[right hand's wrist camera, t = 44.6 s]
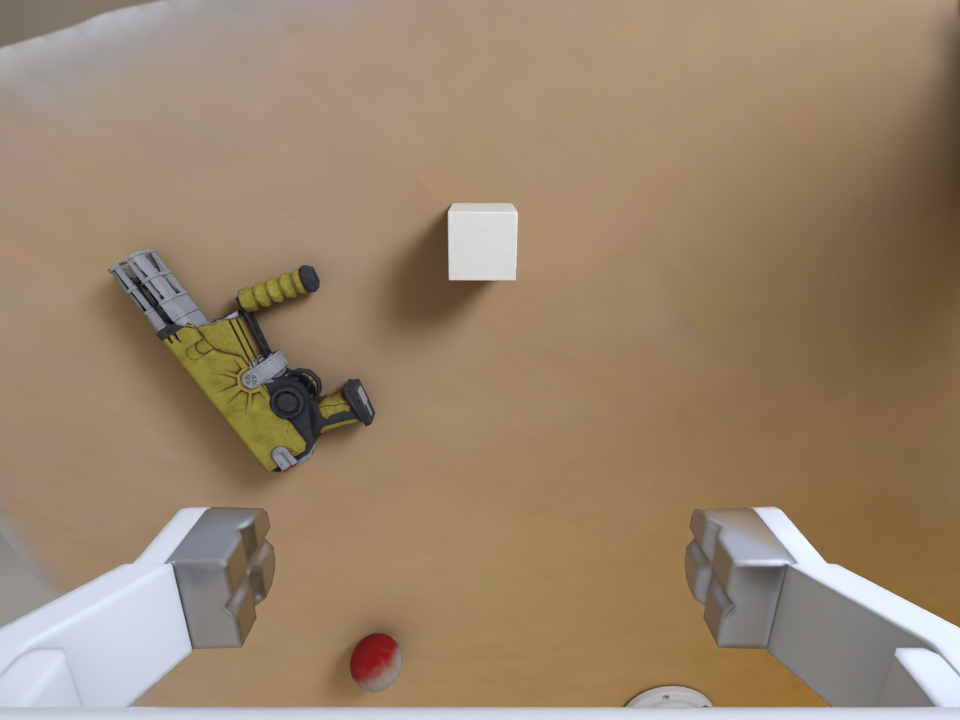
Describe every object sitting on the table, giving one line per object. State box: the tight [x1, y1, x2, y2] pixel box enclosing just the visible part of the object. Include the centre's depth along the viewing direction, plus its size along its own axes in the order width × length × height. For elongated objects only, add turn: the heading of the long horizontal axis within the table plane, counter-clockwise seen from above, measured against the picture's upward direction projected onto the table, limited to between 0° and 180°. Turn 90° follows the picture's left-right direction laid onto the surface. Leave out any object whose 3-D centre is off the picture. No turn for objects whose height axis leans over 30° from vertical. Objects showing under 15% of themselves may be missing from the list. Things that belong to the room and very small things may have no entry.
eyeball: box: [350, 634, 402, 692], centre depth 65 cm, size 6×6×6 cm
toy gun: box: [108, 249, 375, 472], centre depth 52 cm, size 5×24×15 cm
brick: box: [448, 203, 518, 281], centre depth 47 cm, size 5×5×8 cm
